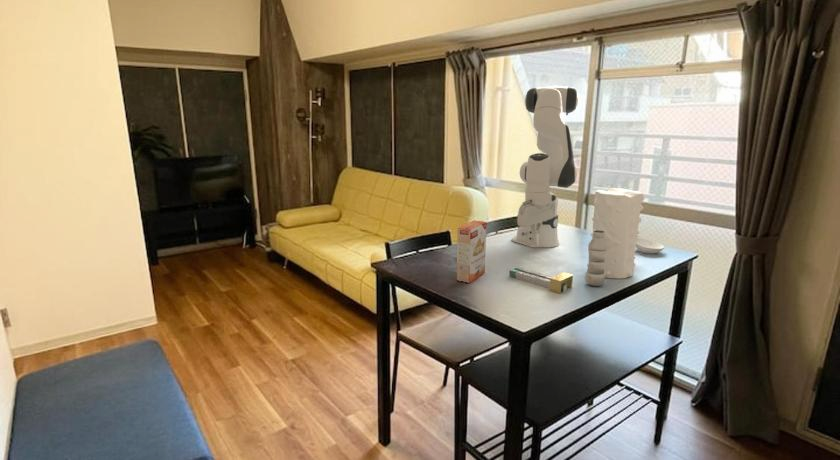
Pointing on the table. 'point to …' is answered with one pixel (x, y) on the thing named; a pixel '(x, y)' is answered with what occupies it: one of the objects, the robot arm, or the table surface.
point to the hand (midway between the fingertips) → (535, 233)
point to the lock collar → (560, 281)
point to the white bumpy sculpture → (618, 228)
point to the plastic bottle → (596, 259)
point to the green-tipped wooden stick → (534, 279)
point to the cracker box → (471, 251)
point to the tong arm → (533, 273)
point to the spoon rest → (648, 246)
